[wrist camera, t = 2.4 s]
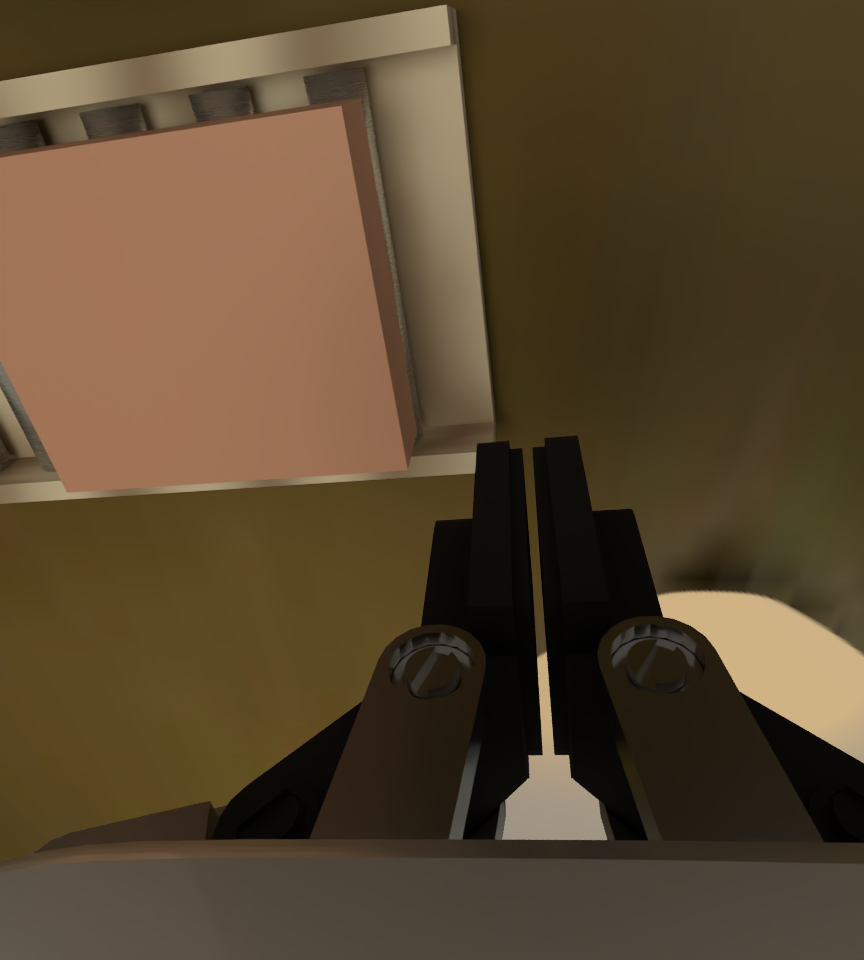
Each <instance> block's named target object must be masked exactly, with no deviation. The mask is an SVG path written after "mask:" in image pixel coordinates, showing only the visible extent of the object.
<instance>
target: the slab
mask: <svg viewBox="0 0 864 960" xmlns="http://www.w3.org/2000/svg"><path fill="white" fill-rule="evenodd" d="M0 361H1V363H2V365H3V367H4V369H5V371H6V373H7V375H8V377H9V379H10V381H11V383H12V384H13V386H14V388H15V390H16V392H17V394H18V396H19V398H20V400H21V402H22V404H23V406H24V408H25V410H26V412H27V414H28V416H29V418H30V420H31V422H32V424H33V426H34V428H35V430H36V432H37V434H38V436H39V438H40V440H41V442H42V444H43V446H44V448H45V450H46V452H47V454H48V456H49V458H50V460H51V462H52V464H53V466H54V468H55V470H56V472H57V474H58V476H59V478H60V480H61V482H62V484H63V486H64V488H65V490H66V492H67V493H70V492H86V491H101V490H116V489H131V488H146V487H162V486H177V485H192V484H207V483H222V482H237V481H253V480H268V479H283V478H298V477H313V476H328V475H344V474H359V473H374V472H389V471H404V470H408V468H409V463H410V459H411V455H412V451H413V447H414V442H415V438H416V434H417V427H416V422H415V416H414V410H413V404H412V398H411V392H410V386H409V380H408V374H407V368H406V362H405V356H404V350H403V344H402V338H401V332H400V326H399V320H398V315H397V309H396V303H395V297H394V291H393V285H392V279H391V273H390V267H389V261H388V255H387V249H386V243H385V237H384V231H383V225H382V219H381V213H380V208H379V202H378V196H377V190H376V184H375V178H374V172H373V166H372V160H371V154H370V148H369V142H368V136H367V130H366V124H365V118H364V112H363V106H362V101H361V98H356V99H349V100H343V101H336V102H330V103H323V104H317V105H310V106H304V107H297V108H291V109H284V110H278V111H271V112H265V113H258V114H252V115H245V116H239V117H232V118H226V119H219V120H213V121H206V122H200V123H193V124H187V125H180V126H173V127H167V128H160V129H154V130H147V131H141V132H134V133H128V134H121V135H115V136H108V137H102V138H95V139H89V140H82V141H76V142H69V143H63V144H56V145H50V146H43V147H37V148H30V149H24V150H17V151H11V152H4V153H0Z"/></svg>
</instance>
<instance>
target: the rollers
mask: <svg viewBox="0 0 864 960" xmlns="http://www.w3.org/2000/svg"><path fill="white" fill-rule="evenodd" d="M303 79H304V84H305V89H306V94H307V99H308V104H309V106H310V105H317V104H323V103H330V102H336V101H343V100H349V99H356V98H361V101H362V106H363V112H364V118H365V124H366V130H367V136H368V142H369V148H370V154H371V160H372V166H373V172H374V178H375V184H376V190H377V196H378V202H379V208H380V213H381V219H382V225H383V231H384V237H385V243H386V249H387V255H388V261H389V267H390V273H391V279H392V285H393V291H394V297H395V303H396V309H397V315H398V320H399V326H400V332H401V338H402V344H403V350H404V356H405V362H406V368H407V374H408V380H409V386H410V392H411V398H412V404H413V410H414V416H415V422H416V427H417V434H416V438H415V442H417V441H418V440H419V439H421V437H422V436H423V428H422V422H421V416H420V410H419V404H418V397H417V391H416V385H415V379H414V373H413V367H412V361H411V355H410V348H409V342H408V336H407V330H406V324H405V318H404V312H403V305H402V299H401V293H400V287H399V281H398V275H397V269H396V263H395V256H394V250H393V244H392V238H391V232H390V226H389V220H388V213H387V207H386V201H385V195H384V189H383V183H382V177H381V171H380V164H379V158H378V152H377V146H376V140H375V134H374V128H373V121H372V115H371V109H370V103H369V97H368V91H367V85H366V79H365V72H364V67H358V68H352V69H346V70H339V71H333V72H327V73H321V74H315V75H309V76H304V77H303ZM188 97H189V100H190V104H191V107H192V111H193V114H194V118H195V121H196V123H200V122H206V121H213V120H219V119H226V118H232V117H239V116H245V115H252V114H255V112H254V108H253V104H252V100H251V96H250V92H249V88H248V85H247V86H240V87H234V88H227V89H221V90H215V91H209V92H203V93H197V94H191V95H188ZM79 115H80V118H81V120H82V123H83V126H84V129H85V131H86V134H87V137H88V140H89V139H95V138H102V137H108V136H115V135H121V134H128V133H134V132H141V131H147V130H148V129H147V126H146V123H145V120H144V117H143V114H142V111H141V108H140V104H139V103H134V104H128V105H122V106H115V107H109V108H103V109H97V110H91V111H85V112H80V113H79ZM43 146H46V143H45V141H44V138H43V136H42V133H41V131H40V128H39V126H38V123H37V121H36V119H35V120H28V121H22V122H16V123H10V124H4V125H0V153H4V152H11V151H17V150H24V149H30V148H37V147H43ZM0 388H1V390H2V392H3V394H4V396H5V397H6V399H7V401H8V403H9V405H10V407H11V409H12V411H13V413H14V415H15V417H16V419H17V421H18V423H19V425H20V427H21V428H22V430H23V432H24V434H25V436H26V438H27V440H28V442H29V444H30V446H31V448H32V450H33V452H34V454H35V456H36V458H37V459H38V461H39V463H40V465H41V467H42V469H43V470H44V471H46V472H56V470H55V468H54V466H53V464H52V462H51V460H50V458H49V456H48V454H47V452H46V450H45V448H44V446H43V444H42V442H41V440H40V438H39V436H38V434H37V432H36V430H35V428H34V426H33V424H32V422H31V420H30V418H29V416H28V414H27V412H26V410H25V408H24V406H23V404H22V402H21V400H20V398H19V396H18V394H17V392H16V390H15V388H14V386H13V384H12V383H11V381H10V379H9V377H8V375H7V373H6V371H5V369H4V367H3V365H2V363H1V361H0ZM415 442H414V443H415ZM11 460H12V458H11V456H10V454H9V452H8V450H7V448H6V447H5V445H4V443H3V441H2V439H1V437H0V470H1V469H3V468H4V467H6V466H7V465H8V464H9V463H10V462H11Z"/></svg>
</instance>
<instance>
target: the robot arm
mask: <svg viewBox="0 0 864 960" xmlns="http://www.w3.org/2000/svg"><path fill="white" fill-rule="evenodd" d="M533 463H534V478H535V492H536V507H537V522H538V537H539V552H540V567H541V581H542V595H543V608H544V621H545V634H546V647H547V661H548V673H549V686H550V699H551V713H552V727H553V740H554V753H555V755H569V759H570V769H571V778H573V779H574V780H575V781H576V782H578V783H579V784H580V785H581V786H582V787H584V788H585V789H586V790H587V791H588V792H590V793H591V794H592V795H593V796H595V797H596V798H597V799H598V800H599V805H600V814H601V819H602V822H603V825H604V829H605V833H606V836H607V840H502V837H503V830H504V823H505V817H506V807H505V806H506V805H505V800H506V799H507V798H508V797H509V796H510V795H511V794H512V793H513V792H514V791H515V790H516V789H517V788H518V787H519V786H520V785H522V784H523V783H524V782H525V781H526V780H527V778H529V757H528V755H543V753H542V737H541V719H540V703H539V685H538V669H537V651H536V634H535V617H534V600H533V584H532V570H531V557H530V544H529V531H528V518H527V505H526V492H525V479H524V466H523V453H522V448H520V449H510V445H509V441H501V442H488V443H477V449H476V466H475V484H474V501H473V518H472V519H457V520H441V521H436V523H435V527H434V534H433V541H432V549H431V556H430V564H429V571H428V579H427V586H426V594H425V601H424V608H423V616H422V623H421V627H418V628H414V629H411V630H409V631H407V632H405V633H404V634H402V635H400V636H398V637H396V638H395V639H394V640H393V641H392V642H391V643H390V644H389V645H388V646H387V647H386V648H385V650H384V651H383V653H382V655H381V656H380V658H379V660H378V662H377V665H376V668H375V670H374V673H373V675H372V678H371V681H370V683H369V686H368V688H367V691H366V693H365V696H364V699H363V701H362V702H361V703H359V704H358V705H356V706H355V707H354V708H352V709H351V710H350V711H348V712H347V713H346V714H344V715H343V716H341V717H340V718H339V719H337V720H336V721H335V722H333V723H332V724H331V725H329V726H328V727H326V728H325V729H324V730H322V731H321V732H320V733H318V734H317V735H315V736H314V737H313V738H311V739H310V740H309V741H307V742H306V743H305V744H303V745H302V746H300V747H299V748H298V749H296V750H295V751H294V752H292V753H291V754H290V755H288V756H287V757H285V758H284V759H283V760H281V761H280V762H279V763H277V764H276V765H275V766H273V767H272V768H270V769H269V770H268V771H266V772H265V773H264V774H262V775H261V776H260V777H258V778H257V779H255V780H254V781H253V782H251V783H250V784H249V785H247V786H246V787H245V788H244V789H243V790H241V791H240V792H239V793H238V794H237V795H236V796H235V797H234V798H233V799H232V800H231V801H230V802H229V804H228V805H227V806H223V807H219V808H215V809H214V807H213V805H212V803H211V802H210V801H208V802H203V803H199V804H194V805H190V806H186V807H181V808H177V809H172V810H168V811H164V812H159V813H155V814H150V815H146V816H142V817H137V818H133V819H128V820H124V821H120V822H115V823H111V824H107V825H102V826H98V827H93V828H89V829H85V830H80V831H76V832H71V833H69V834H66V835H64V836H61V837H58V838H56V839H53V840H51V841H50V842H48V843H47V844H45V845H44V846H42V847H41V848H40V849H38V850H37V851H35V852H34V853H33V854H30V855H26V856H22V857H17V858H13V859H9V860H5V861H1V862H0V960H864V763H862V762H860V761H859V760H857V759H855V758H853V757H852V756H850V755H848V754H846V753H845V752H843V751H841V750H840V749H838V748H836V747H834V746H832V745H831V744H829V743H828V742H826V741H824V740H822V739H821V738H819V737H817V736H815V735H814V734H812V733H810V732H809V731H807V730H805V729H803V728H801V727H800V726H798V725H796V724H795V723H793V722H791V721H789V720H788V719H786V718H784V717H782V716H781V715H779V714H777V713H776V712H774V711H772V710H770V709H769V708H767V707H765V706H763V705H762V704H760V703H758V702H757V701H754V700H753V699H751V698H749V697H748V696H746V695H744V694H743V693H741V692H739V690H738V689H737V687H736V685H735V683H734V682H733V680H732V678H731V676H730V674H729V673H728V671H727V669H726V667H725V665H724V664H723V662H722V660H721V658H720V657H719V655H718V653H717V651H716V650H715V648H714V647H713V646H712V644H711V643H710V642H709V641H708V640H707V638H706V637H705V636H704V635H703V634H701V633H700V632H698V631H697V630H696V629H694V628H693V627H691V626H689V625H687V624H684V623H682V622H680V621H677V620H675V619H670V618H664V617H663V615H662V612H661V608H660V604H659V601H658V597H657V594H656V590H655V587H654V583H653V579H652V576H651V572H650V569H649V565H648V562H647V558H646V554H645V551H644V547H643V544H642V540H641V537H640V533H639V530H638V526H637V522H636V519H635V516H634V513H633V510H632V509H620V510H603V511H592V507H591V502H590V497H589V492H588V487H587V482H586V476H585V471H584V466H583V461H582V456H581V451H580V445H579V440H578V436H566V437H553V438H545V447H533Z"/></svg>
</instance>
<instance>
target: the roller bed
mask: <svg viewBox="0 0 864 960" xmlns="http://www.w3.org/2000/svg"><path fill="white" fill-rule="evenodd" d="M358 67H364V72H365V79H366V85H367V91H368V97H369V103H370V109H371V115H372V121H373V128H374V134H375V140H376V146H377V152H378V158H379V164H380V171H381V177H382V183H383V189H384V195H385V201H386V207H387V213H388V220H389V226H390V232H391V238H392V244H393V250H394V256H395V263H396V269H397V275H398V281H399V287H400V293H401V299H402V305H403V312H404V318H405V324H406V330H407V336H408V342H409V348H410V355H411V361H412V367H413V373H414V379H415V385H416V391H417V397H418V404H419V410H420V416H421V422H422V428H423V436H422V437H421V439H419V440H418V441H417V442H415V443H414V447H413V451H412V455H411V459H410V463H409V468H408V470H404V471H389V472H374V473H359V474H344V475H328V476H313V477H298V478H283V479H268V480H253V481H237V482H222V483H207V484H192V485H177V486H162V487H146V488H131V489H116V490H101V491H86V492H70V493H67V492H66V490H65V488H64V486H63V484H62V482H61V480H60V478H59V476H58V474H57V472H46V471H44V470H43V469H42V467H41V465H40V463H39V461H38V459H37V458H36V456H35V454H34V452H33V450H32V448H31V446H30V444H29V442H28V440H27V438H26V436H25V434H24V432H23V430H22V428H21V427H20V425H19V423H18V421H17V419H16V417H15V415H14V413H13V411H12V409H11V407H10V405H9V403H8V401H7V399H6V397H5V396H4V394H3V392H2V390H1V388H0V437H1V439H2V441H3V443H4V445H5V447H6V448H7V450H8V452H9V454H10V456H11V458H12V460H11V462H10V463H9V464H8V465H7V466H6V467H4V468H3V469H1V470H0V504H3V503H19V502H34V501H50V500H65V499H81V498H96V497H112V496H128V495H143V494H159V493H174V492H190V491H205V490H221V489H237V488H252V487H268V486H283V485H299V484H314V483H330V482H346V481H361V480H377V479H392V478H408V477H423V476H439V475H455V474H470V473H475V466H476V449H477V443H488V442H496V428H497V425H496V415H495V404H494V394H493V384H492V374H491V363H490V353H489V343H488V333H487V323H486V312H485V302H484V292H483V282H482V271H481V261H480V251H479V241H478V230H477V220H476V210H475V200H474V189H473V179H472V169H471V159H470V149H469V138H468V128H467V118H466V108H465V97H464V87H463V77H462V67H461V56H460V46H459V36H458V26H457V15H456V9H454V8H452V7H450V6H448V5H441V6H436V7H430V8H424V9H418V10H412V11H407V12H401V13H395V14H389V15H383V16H377V17H372V18H366V19H360V20H354V21H348V22H343V23H337V24H331V25H325V26H319V27H313V28H308V29H302V30H296V31H290V32H284V33H279V34H273V35H267V36H261V37H255V38H249V39H244V40H238V41H232V42H226V43H220V44H215V45H209V46H203V47H197V48H191V49H185V50H180V51H174V52H168V53H162V54H156V55H150V56H145V57H139V58H133V59H127V60H121V61H116V62H110V63H104V64H98V65H92V66H86V67H81V68H75V69H69V70H63V71H57V72H52V73H46V74H40V75H34V76H28V77H22V78H17V79H11V80H5V81H0V125H4V124H10V123H16V122H22V121H28V120H35V119H36V121H37V123H38V126H39V128H40V131H41V133H42V136H43V138H44V141H45V143H46V146H50V145H56V144H63V143H69V142H76V141H82V140H88V137H87V134H86V131H85V129H84V126H83V123H82V120H81V118H80V115H79V113H80V112H85V111H91V110H97V109H103V108H109V107H115V106H122V105H128V104H134V103H139V104H140V108H141V111H142V114H143V117H144V120H145V123H146V126H147V129H148V130H154V129H160V128H167V127H173V126H180V125H187V124H193V123H196V121H195V118H194V114H193V111H192V107H191V104H190V100H189V97H188V95H191V94H197V93H203V92H209V91H215V90H221V89H227V88H234V87H240V86H247V85H248V88H249V92H250V96H251V100H252V104H253V108H254V112H255V114H258V113H265V112H271V111H278V110H284V109H291V108H297V107H304V106H309V104H308V99H307V94H306V89H305V84H304V79H303V77H304V76H309V75H315V74H321V73H327V72H333V71H339V70H346V69H352V68H358Z"/></svg>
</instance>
